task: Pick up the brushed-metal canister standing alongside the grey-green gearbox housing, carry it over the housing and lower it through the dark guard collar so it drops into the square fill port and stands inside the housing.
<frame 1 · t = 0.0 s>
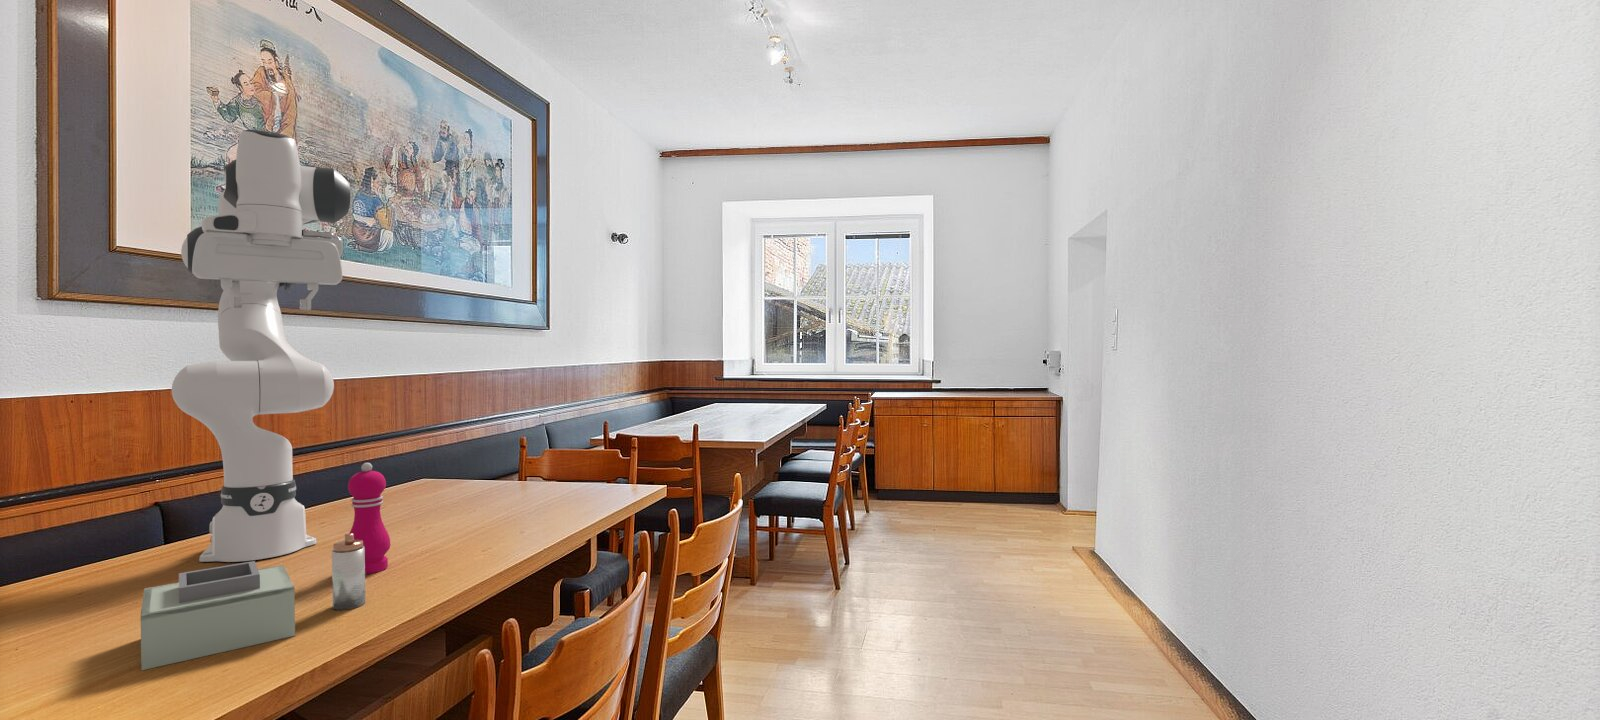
hand: (271, 308, 118), 48 cm above the table, fingers open, 8 cm apart
canister: (349, 605, 112), on the table
pepper mill: (368, 570, 130), on the table
gearbox: (220, 636, 100), on the table
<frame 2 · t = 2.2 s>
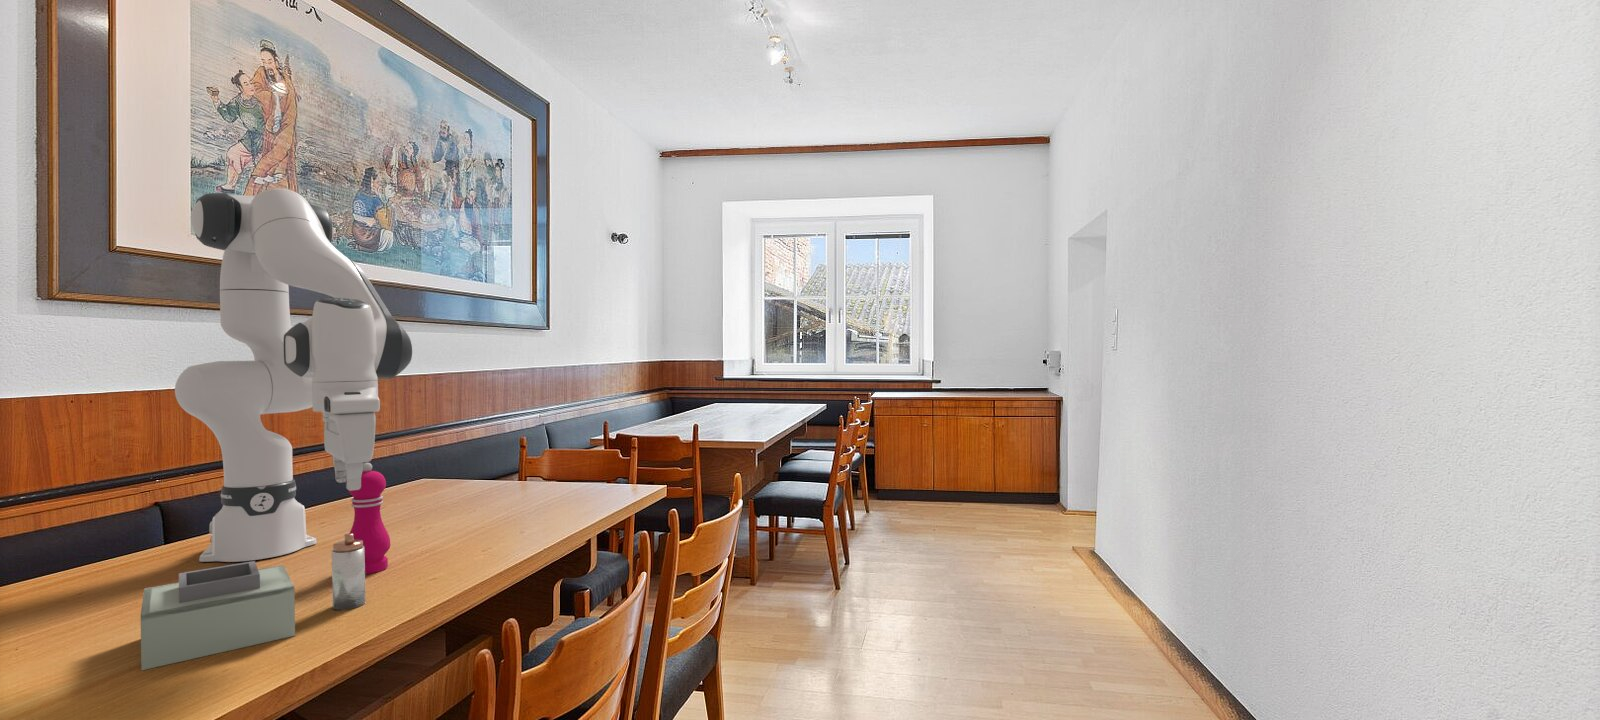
hand: (347, 485, 112), 19 cm above the table, fingers open, 8 cm apart
nothing on the table moved.
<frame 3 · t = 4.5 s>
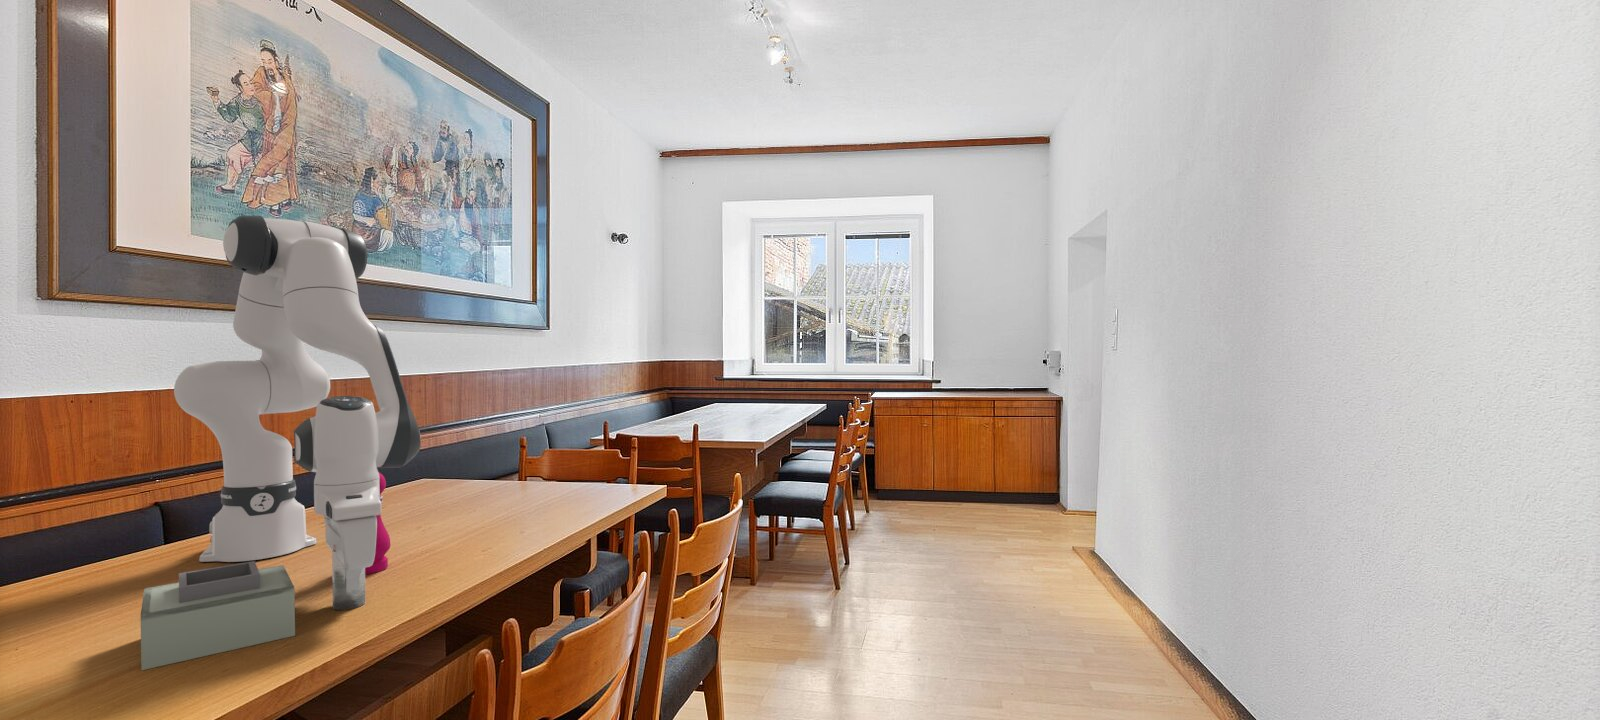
hand: (348, 584, 112), 3 cm above the table, fingers closed on canister, 4 cm apart
canister: (349, 604, 112), on the table, touching gripper
everything else where it was.
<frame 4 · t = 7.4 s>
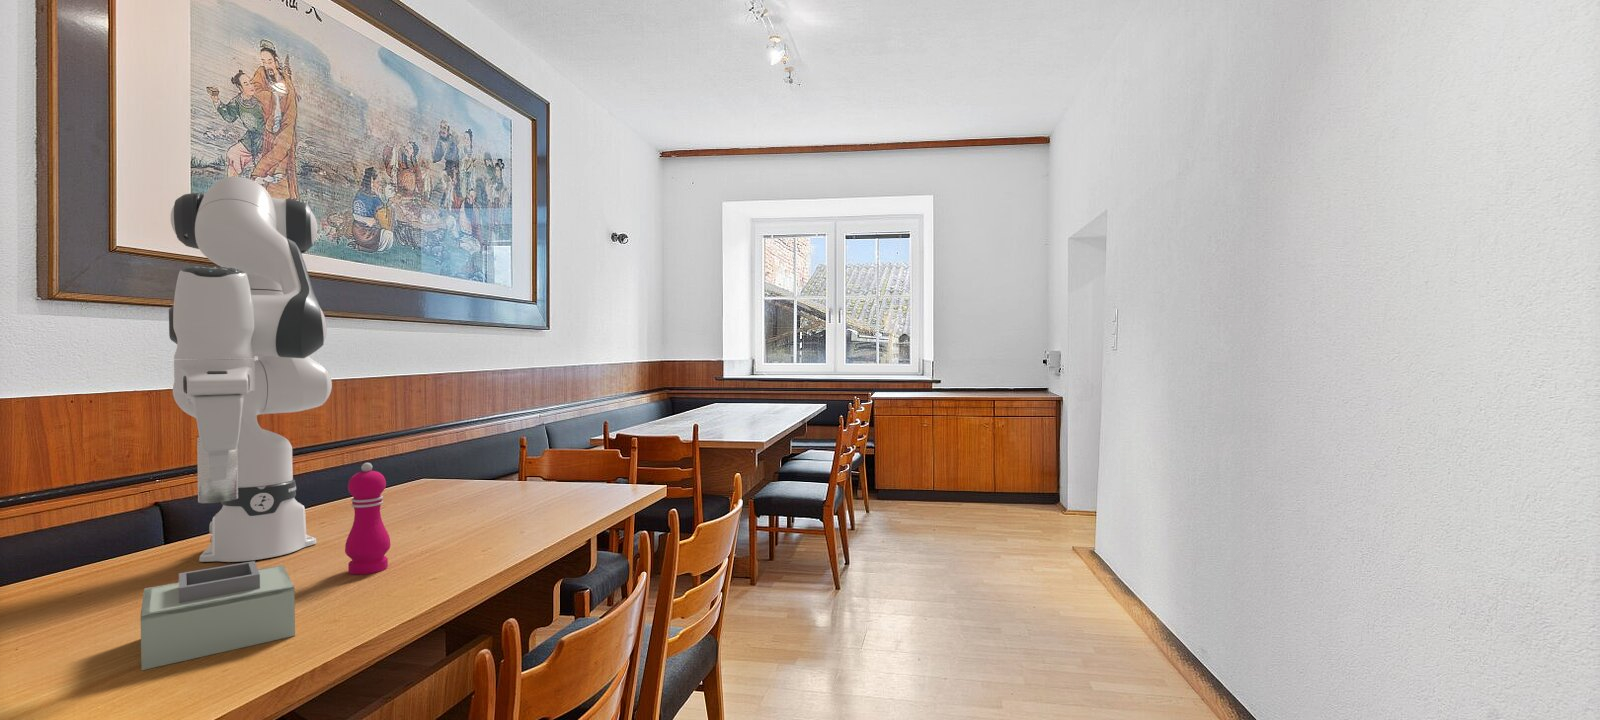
hand: (217, 476, 99), 23 cm above the table, fingers closed on canister, 4 cm apart
canister: (218, 499, 100), point 20 cm above the table, touching gripper
everything else where it was.
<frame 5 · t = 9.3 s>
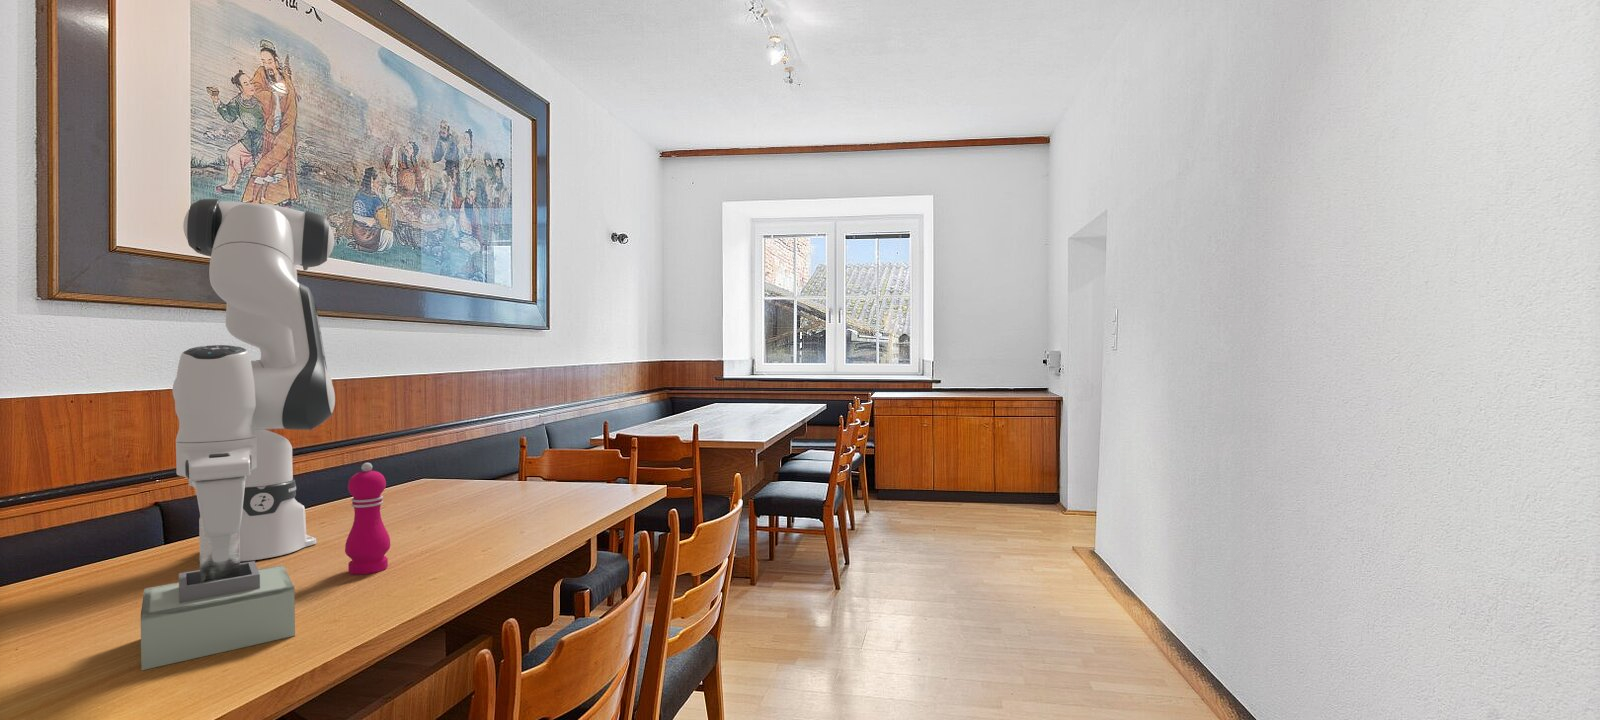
hand: (219, 555, 100), 12 cm above the table, fingers closed on canister, 4 cm apart
canister: (220, 578, 100), point 8 cm above the table, touching gripper
everything else where it was.
when the fingers open (10 cm above the table, at t = 10.6 s): canister drops 5 cm, resting on gearbox.
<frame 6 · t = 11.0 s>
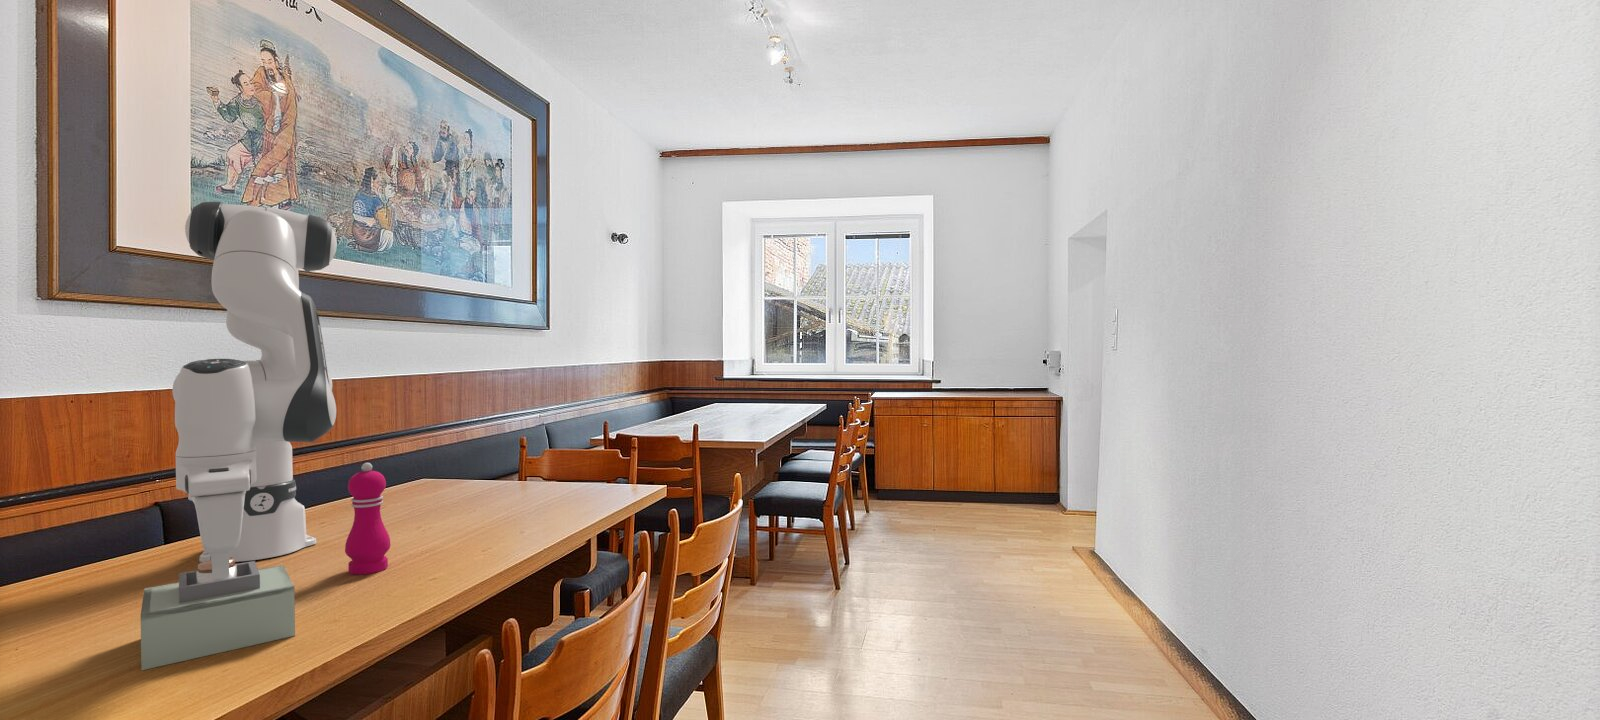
hand: (219, 569, 100), 10 cm above the table, fingers open, 8 cm apart
canister: (220, 630, 100), point 1 cm above the table, touching gearbox
everything else where it was.
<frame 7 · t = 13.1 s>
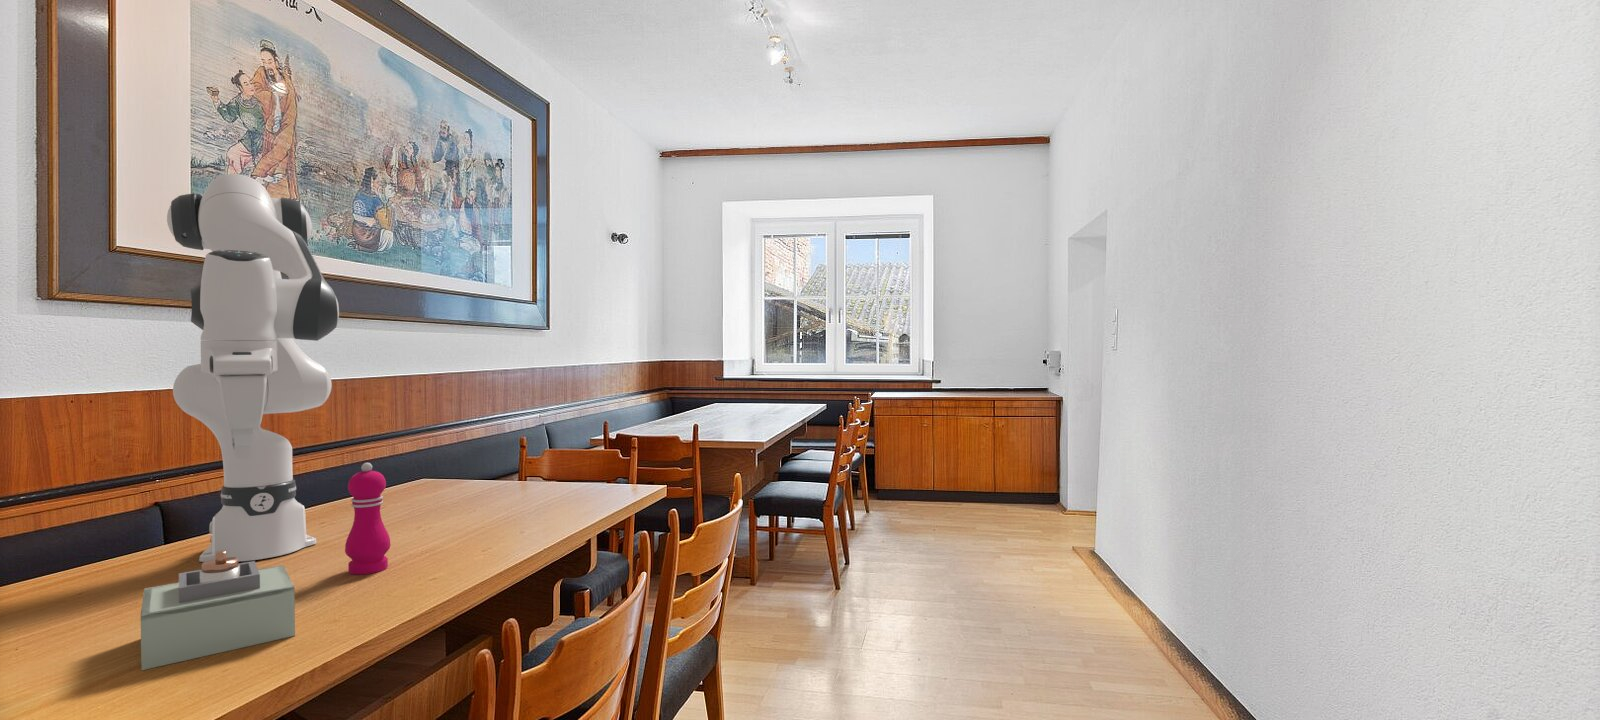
hand: (241, 453, 103), 26 cm above the table, fingers open, 8 cm apart
nothing on the table moved.
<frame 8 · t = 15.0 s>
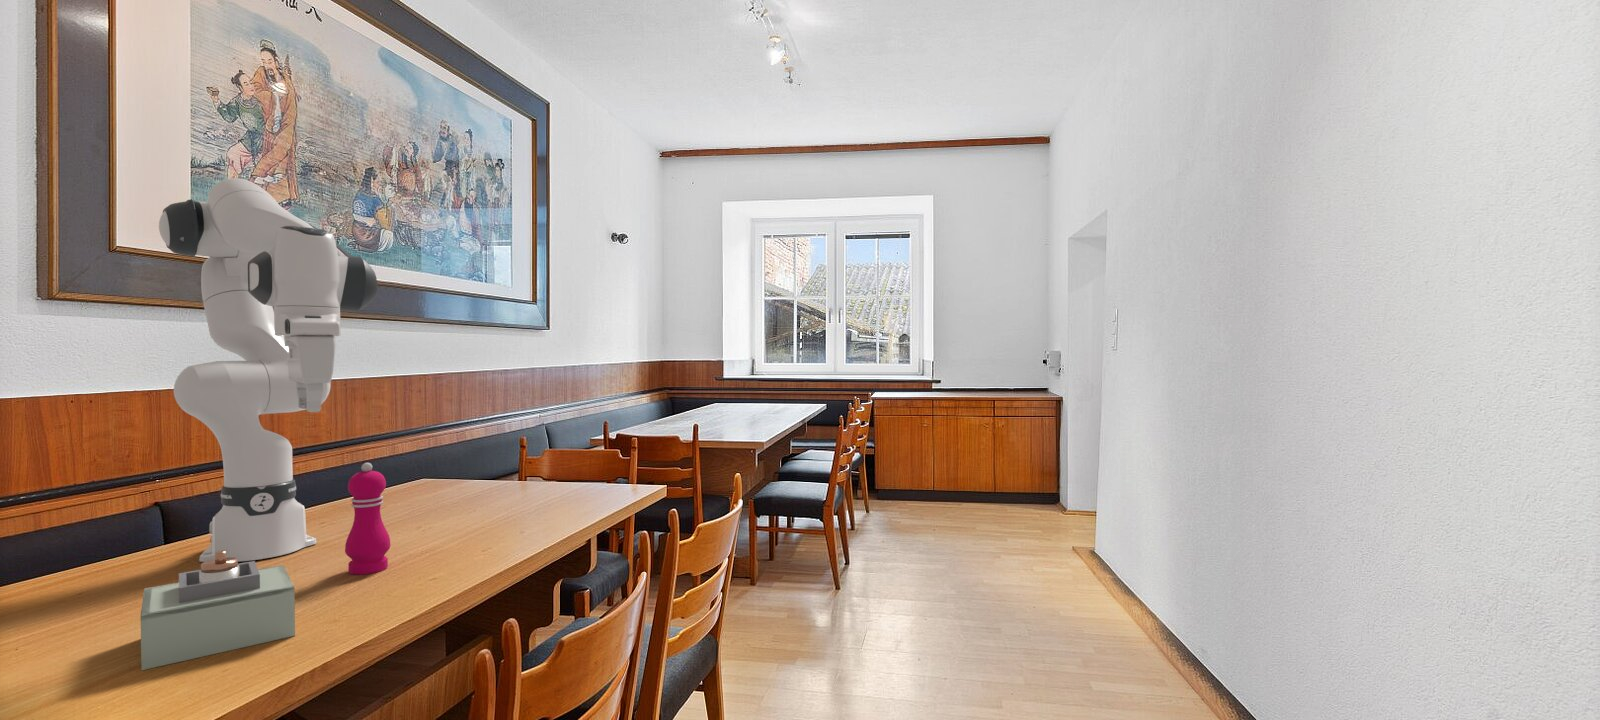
hand: (309, 410, 114), 31 cm above the table, fingers open, 8 cm apart
nothing on the table moved.
at the end: canister 0.2 cm off-centre on the gearbox, point 0.8 cm above the gearbox's base; the gripper is holding nothing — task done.
